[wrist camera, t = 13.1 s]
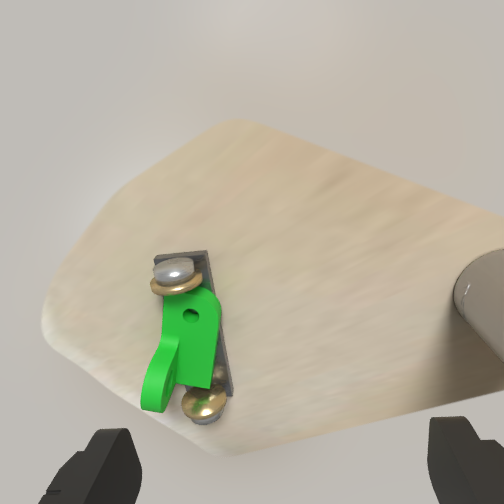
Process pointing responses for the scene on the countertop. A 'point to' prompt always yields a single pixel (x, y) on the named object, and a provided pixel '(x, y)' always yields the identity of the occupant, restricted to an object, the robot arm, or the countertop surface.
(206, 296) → the mechanical part
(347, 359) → the countertop surface
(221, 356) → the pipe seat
